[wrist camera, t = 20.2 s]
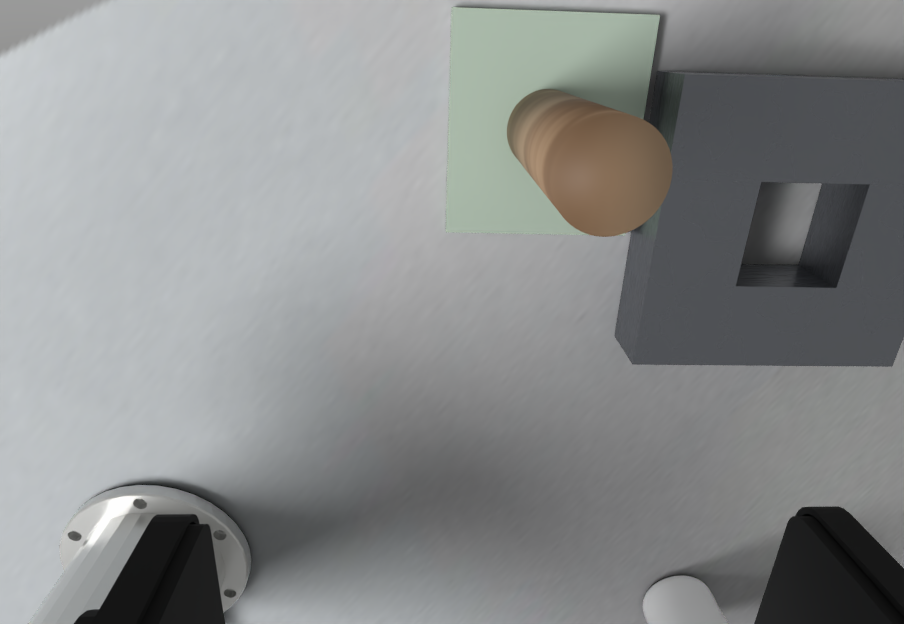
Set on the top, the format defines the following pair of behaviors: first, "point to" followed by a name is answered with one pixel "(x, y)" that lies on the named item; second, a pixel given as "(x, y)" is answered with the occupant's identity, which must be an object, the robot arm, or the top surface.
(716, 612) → the drinking glass
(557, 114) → the tan rounded cylinder
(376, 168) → the top surface
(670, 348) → the dark grey socket block
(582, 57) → the set down mat
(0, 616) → the top surface
